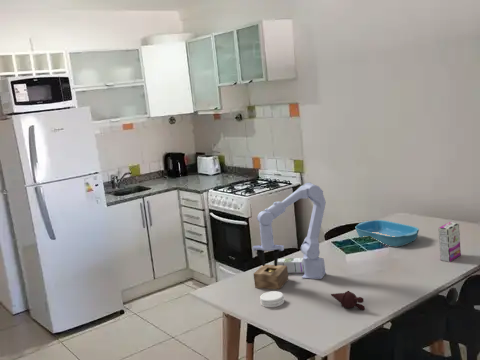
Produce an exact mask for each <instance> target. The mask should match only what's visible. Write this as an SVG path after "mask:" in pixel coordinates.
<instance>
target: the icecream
mask: <svg viewBox="0 0 480 360" xmlns="http://www.w3.org/2000/svg"><path fill="white" fill-rule="evenodd" d="M330 295H331V296H332V297H333V298H334V299H335V300H337V301H338V302H339V303H340V304H341V307H343V308H344V309H345V308H346V309H352V308H353V309H354V308H355V307H356V308H357V309H358V310H361V311H364V310H365V309H366V308H365V305H363V303H364V302H365V301H364V298H363V297H361V296H357V295H356V294H355V293H353V292H352V291H350V290H347V291H345V292H341V293H340V292H339V293H331V294H330Z"/></svg>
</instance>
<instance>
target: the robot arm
mask: <svg viewBox="0 0 480 360" xmlns="http://www.w3.org/2000/svg"><path fill="white" fill-rule="evenodd" d="M300 199H310V201H311V202H312V205H313V206H312V211H311V215H310V216H311V217H310V219H309V225H308V230H307V235H306V236H305V238H304V240H303V242H302V244H301V246H300V251H301V253H302V254H303V256H302V258H303V262H304V272H303V273H304V274H303V275H302V276H301V278H302V279H313V280H314V279H315V280H322V279H323V277H324V276H325V275H326V268H325V267H326V264H325V260H324V258H322V257H321V256H320V242H319V236H320V232H321V228H322V227H321V226H322V224H323V223H322V222H323V218H324V212H325V209H326V199H325V195H324V190H323V189H322V188H321V187H320V186H319V185H317V184H314V183H312V182H305V183H304V184H302V185H301V186H299V187H298V188H297V189H296V190H295V191H293V192H292V193H290V195H288V196H287V197H285V199H283V200H282V201H280V200H279V201H278V200H277V201H274V202H273V203H272V205H270V206H268V207H267V208H264V210H262V211H259V213H258V214H257V217H256V219H257V222H259V234H260V243H261V245H260V244H259V245H253V246H252V248H251V249H252V251H253V252H255V253H256V255H257V257H258V258H259V260H260V263H261V266H264V265H266V260H265V251H272V255H273V265H274V264H275V266H277V261H278V259H279V257H280V252H283V251H284V250H285V245H283V244H282V245H280V244H279V245H278V244H275V241H274V235H273V231H274V230H273V226H272V224H273V220H275V219H277V218H278V217H279V216H281V215H282V214H284V213H286V209H287V208H288V207H289V206H291V205H292V204H294V203H295V202H297V201H299V200H300Z"/></svg>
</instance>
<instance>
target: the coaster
mask: <svg viewBox="0 0 480 360" xmlns="http://www.w3.org/2000/svg"><path fill="white" fill-rule="evenodd" d="M284 297H285V296H284V294H283V292H281V291H279V290H277V291H276V290H272V291H270V290H269V291H266V292H264V293H262V294H261V295H260V296H259V299H260V301H259V302H260V305H261V306H262V307H264V308H277V307H280V306H281V305H283V304H284V303H285V299H284Z"/></svg>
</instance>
